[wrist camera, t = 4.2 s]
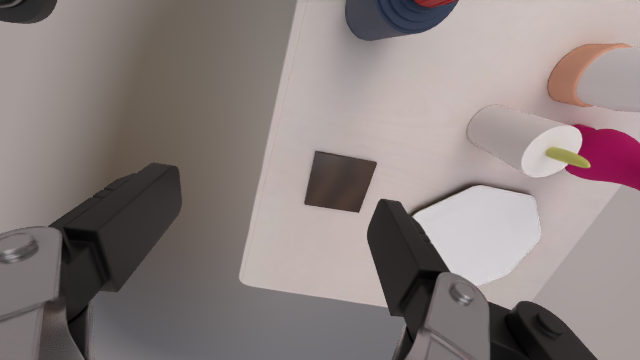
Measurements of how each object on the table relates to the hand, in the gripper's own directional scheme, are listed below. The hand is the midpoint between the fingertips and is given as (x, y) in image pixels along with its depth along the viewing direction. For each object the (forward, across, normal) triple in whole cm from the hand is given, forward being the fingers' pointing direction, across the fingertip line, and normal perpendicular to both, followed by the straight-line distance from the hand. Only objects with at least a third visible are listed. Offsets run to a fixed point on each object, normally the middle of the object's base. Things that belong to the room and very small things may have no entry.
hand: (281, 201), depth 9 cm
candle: (+26, -29, -1) cm, 39 cm away
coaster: (+26, -9, +13) cm, 30 cm away
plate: (+26, -37, +22) cm, 50 cm away
